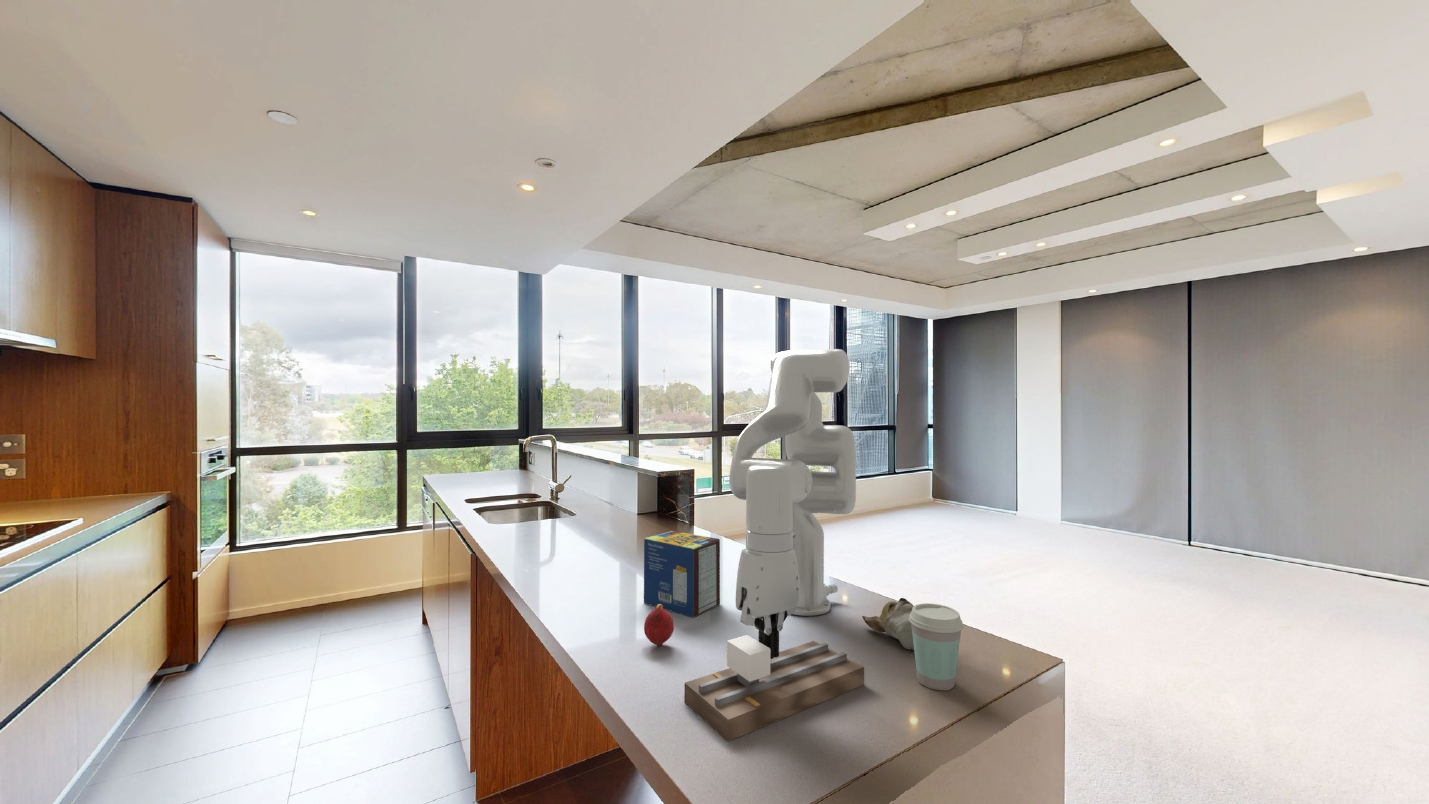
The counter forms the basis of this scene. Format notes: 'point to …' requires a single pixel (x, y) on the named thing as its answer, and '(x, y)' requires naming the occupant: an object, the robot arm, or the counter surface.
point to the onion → (658, 626)
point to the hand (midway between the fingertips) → (768, 654)
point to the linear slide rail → (773, 689)
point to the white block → (748, 659)
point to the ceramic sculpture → (894, 622)
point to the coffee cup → (936, 644)
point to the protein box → (682, 572)
